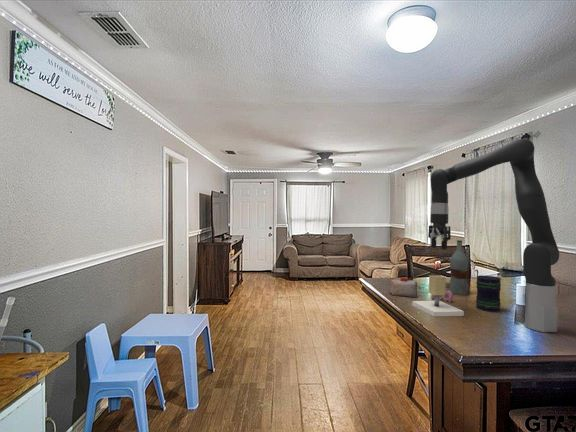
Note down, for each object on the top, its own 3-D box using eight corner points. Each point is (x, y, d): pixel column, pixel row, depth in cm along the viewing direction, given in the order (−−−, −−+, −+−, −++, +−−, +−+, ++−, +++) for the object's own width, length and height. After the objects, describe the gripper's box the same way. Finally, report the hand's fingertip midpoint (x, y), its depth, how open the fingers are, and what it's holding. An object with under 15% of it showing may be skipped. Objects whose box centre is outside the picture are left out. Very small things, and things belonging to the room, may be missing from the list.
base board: (463, 315, 144) (463, 311, 144) (433, 316, 142) (433, 311, 142) (439, 304, 162) (439, 300, 162) (412, 305, 160) (412, 301, 160)
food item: (390, 295, 179) (390, 277, 179) (391, 292, 186) (391, 275, 186) (417, 298, 174) (417, 279, 174) (417, 295, 182) (417, 277, 182)
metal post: (440, 306, 151) (440, 291, 151) (436, 306, 151) (436, 291, 151) (437, 305, 153) (437, 290, 153) (433, 305, 153) (433, 290, 153)
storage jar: (504, 312, 150) (504, 279, 150) (480, 311, 152) (480, 278, 152) (495, 307, 159) (495, 276, 159) (472, 305, 161) (473, 274, 161)
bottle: (450, 294, 184) (451, 240, 184) (447, 291, 193) (448, 239, 193) (469, 296, 181) (470, 241, 182) (465, 292, 190) (466, 240, 190)
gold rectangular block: (445, 295, 150) (445, 277, 150) (435, 295, 149) (435, 277, 149) (438, 292, 155) (439, 275, 155) (428, 292, 154) (429, 275, 154)
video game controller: (452, 305, 168) (455, 291, 170) (450, 302, 165) (452, 289, 167) (432, 301, 174) (435, 288, 177) (430, 299, 171) (432, 286, 174)
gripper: (456, 213, 146) (455, 250, 146) (438, 213, 160) (437, 247, 160) (440, 212, 145) (439, 250, 145) (423, 213, 159) (423, 246, 159)
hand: (438, 248), depth 153 cm, fingers open, 8 cm apart
